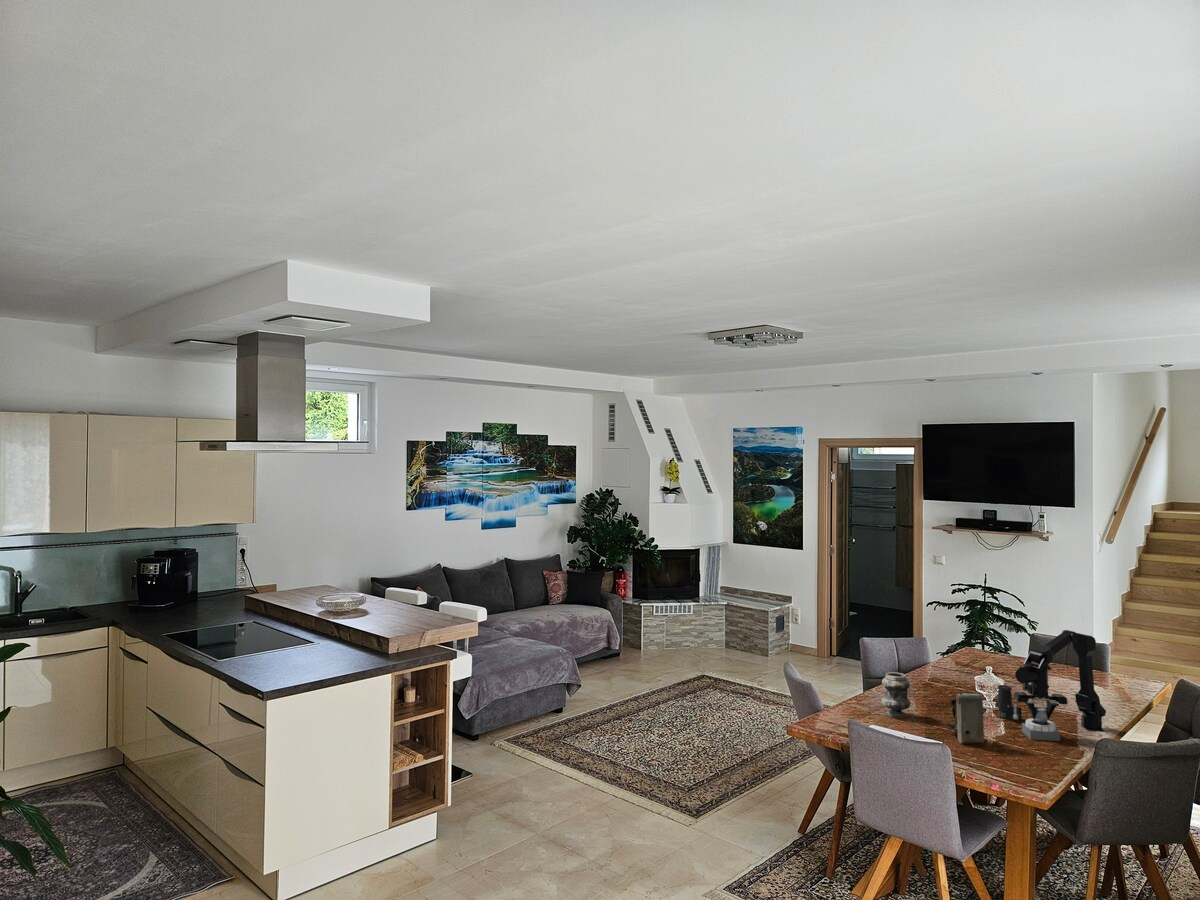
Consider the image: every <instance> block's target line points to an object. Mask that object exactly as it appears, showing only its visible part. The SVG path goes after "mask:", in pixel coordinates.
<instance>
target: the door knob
mask: <svg viewBox="0 0 1200 900" xmlns="http://www.w3.org/2000/svg"><path fill="white" fill-rule="evenodd" d="M1034 707H1035V719H1034V723H1035V724H1038V725H1048V721H1049V720H1048V719H1047V706H1045V705H1040V704H1036V705H1035V704H1034Z"/></svg>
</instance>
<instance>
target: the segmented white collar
mask: <svg viewBox="0 0 1200 900" xmlns="http://www.w3.org/2000/svg"><path fill="white" fill-rule="evenodd" d="M1056 725H1057V724H1056V723H1055V722H1054V721H1050V720H1048V725H1038V724H1035V723H1034V719H1033V718H1027V719H1026V720H1025V722H1021V732H1022V733H1023V734H1024V735H1025V736H1026V737H1027V738H1028V739H1029V740H1034V741H1035V740H1037V741H1050V742H1051V741H1053V742H1061V732H1060V731H1059V730H1058V729H1057V727H1056Z"/></svg>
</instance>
